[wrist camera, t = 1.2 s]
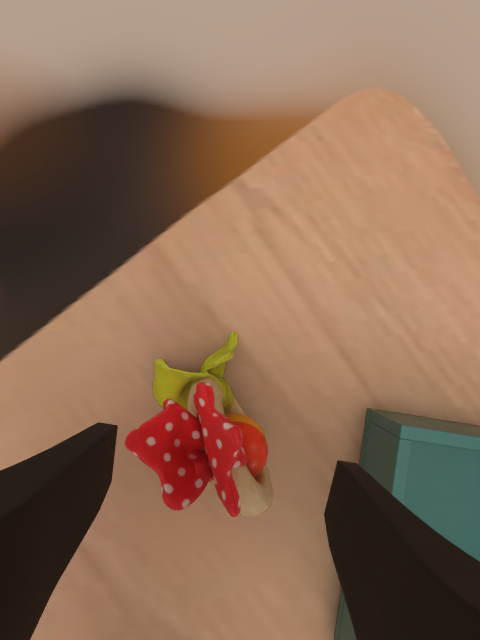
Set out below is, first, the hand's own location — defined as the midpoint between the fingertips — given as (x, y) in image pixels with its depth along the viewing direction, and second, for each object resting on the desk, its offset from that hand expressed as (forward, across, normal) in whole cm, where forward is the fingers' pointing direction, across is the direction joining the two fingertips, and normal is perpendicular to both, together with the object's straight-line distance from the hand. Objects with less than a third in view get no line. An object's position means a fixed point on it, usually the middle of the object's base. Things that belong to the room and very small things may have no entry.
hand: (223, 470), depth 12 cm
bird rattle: (+12, 0, +3) cm, 12 cm away
